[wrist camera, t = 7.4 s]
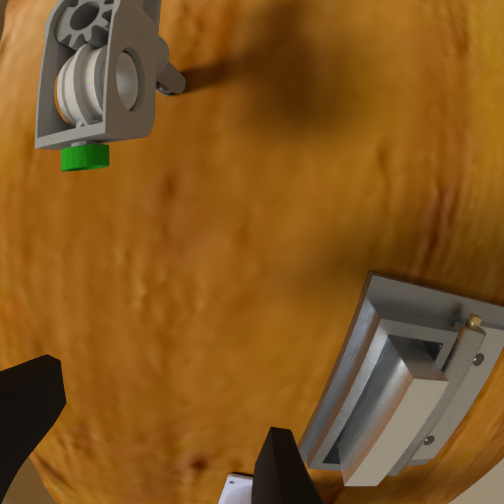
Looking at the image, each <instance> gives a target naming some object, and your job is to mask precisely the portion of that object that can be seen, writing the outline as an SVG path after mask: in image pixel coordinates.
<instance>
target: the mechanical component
mask: <svg viewBox="0 0 504 504" xmlns="http://www.w3.org/2000/svg"><path fill="white" fill-rule="evenodd" d="M160 8H161V0H59V1H58V2H57V4H56V5H55V6H54V8H53V9H52V11H51V13H50V15H49V17H48V19H47V22H46V25H45V29H44V39H45V44H44V50H43V56H42V63H41V70H40V78H39V87H38V97H37V110H36V129H35V149H52V150H61V171H80V170H89V169H97V168H104V167H108V166H109V145H105V144H104V143H110V142H116V141H122V140H129V139H136V138H144V137H146V136H148V135H149V134H150V132H151V130H152V127H153V124H154V118H155V91H156V90H157V91H159V92H160V93H162V94H163V95H165V96H169V93H171V92H174V93H175V94H179V93H182V92H183V91H184V89H185V87H186V80H185V78H184V77H183V75H182V74H181V73H180V72H179V71H178V70H177V69H176V68H175V67H174V66H173V65H172V64H171V63H170V62H169V61H168V59H169V48H168V45H167V43H166V42H165V41H164V40H163V39H162V38H161V37H159V36H158V31H159V19H160ZM60 70H61V71H60ZM59 71H60V74H59V78H58V83H57V95H58V102H59V106H60V109H61V111H62V114H63V116H64V117H65V119H66V120H67V122H68V123H67V122H66V121H64V120H63V119H62V117H61V116H60V115H59V112H58V110H57V108H56V105H55V100H54V85H55V80H56V77H57V75H58V73H59Z"/></svg>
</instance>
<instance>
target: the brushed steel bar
mask: <svg viewBox="0 0 504 504" xmlns="http://www.w3.org/2000/svg"><path fill="white" fill-rule="evenodd" d="M448 383H449V380H448V379H447V378H446V376H445V375H444V374H443V372H442V371H441V370H440V368H439V367H438V366H437V364H436V363H435V362H434V360H433V359H432V358H431V356H430V355H429V354H428V352H427V351H426V350H425V349H424V347H423V346H422V345H421V343H420V342H419V341H418V340H417V339H414V338H408V337H402V336H396V335H391V334H388V337H387V339H386V342H385V344H384V346H383V349H382V351H381V353H380V355H379V358H378V360H377V362H376V364H375V366H374V368H373V371H372V373H371V375H370V377H369V379H368V381H367V383H366V385H365V387H364V389H363V391H362V393H361V395H360V397H359V399H358V401H357V403H356V405H355V407H354V409H353V411H352V412H351V414H350V416H349V418H348V420H347V422H346V423H345V425H344V427H343V429H342V431H341V432H340V434H339V436H338V437H337V439H336V442H337V448H338V453H339V459H340V464H341V470H342V476H343V482H344V486H377V485H378V484H379V483H380V482H381V480H382V479H383V478H384V477H385V476H386V474H387V473H388V472H389V471H390V470H391V468H392V467H393V466H394V464H395V463H396V462H397V461H398V459H399V458H400V457H401V455H402V454H403V453H404V451H405V450H406V449H407V447H408V446H409V445H410V443H411V442H412V440H413V439H414V437H415V436H416V435H417V433H418V432H419V430H420V429H421V427H422V426H423V424H424V423H425V421H426V420H427V418H428V417H429V415H430V413H431V412H432V410H433V409H434V407H435V405H436V404H437V402H438V400H439V399H440V397H441V395H442V394H443V392H444V390H445V388H446V387H447V385H448Z"/></svg>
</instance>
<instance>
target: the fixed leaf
mask: <svg viewBox="0 0 504 504" xmlns="http://www.w3.org/2000/svg"><path fill="white" fill-rule="evenodd" d="M388 334H391V335H396V336H402V337H408V338H414V339H417V340H418V341H419V342H420V343H421V345H422V346H423V347H424V349H425V350H426V351H427V352H428V354H429V355H430V356H431V358H432V359H433V360H434V362H435V363H436V364H437V366H438V367H439V368H440V370H441V371H442V372H443V374H444V375H445V376H446V378H447V379H448V380H449V383H448V385H447V387H446V388H445V390H444V392H443V394H442V395H441V397H440V399H439V400H438V402H437V404H436V405H435V407H434V409H433V410H432V412H431V413H430V415H429V417H428V418H427V420H426V421H425V423H424V424H423V426H422V427H421V429H420V430H419V432H418V433H417V435H416V436H415V437H414V439H413V440H412V442H411V443H410V445H409V446H408V447H407V449H406V450H405V451H404V453H403V454H402V455H401V457H400V458H399V459H398V461H397V462H396V463H395V464H394V466H393V467H392V468H391V470H390V471H389V472H388V473H387V474H386V475H389V476H395V475H398V474H399V473H400V472H401V471H402V470H403V469H404V467H405V466H406V465H423V464H426V463H427V462H428V461H429V459H433V458H434V457H435V456H436V455H437V453H438V452H439V451H440V449H441V448H442V447H443V446H444V444H445V443H446V442H447V440H448V439H449V437H450V436H451V435H452V433H453V432H454V430H455V429H456V428H457V426H458V425H459V423H460V422H461V420H462V419H463V417H464V416H465V414H466V413H467V411H468V410H469V408H470V406H471V405H472V403H473V402H474V400H475V398H476V397H477V395H478V393H479V392H480V390H481V388H482V387H483V385H484V383H485V381H486V380H487V378H488V376H489V374H490V372H491V370H492V369H493V367H494V365H495V363H496V361H497V359H498V357H499V355H500V353H501V351H502V349H503V347H504V305H502V304H498V303H494V302H491V301H487V300H483V299H479V298H475V297H471V296H467V295H463V294H459V293H455V292H451V291H447V290H443V289H439V288H435V287H431V286H428V285H424V284H420V283H416V282H412V281H407V280H403V279H399V278H395V277H391V276H387V275H383V274H379V273H375V272H371V271H369V273H368V276H367V279H366V282H365V285H364V288H363V291H362V294H361V297H360V300H359V303H358V305H357V308H356V311H355V314H354V317H353V319H352V322H351V325H350V327H349V330H348V333H347V335H346V338H345V341H344V343H343V346H342V348H341V351H340V353H339V356H338V358H337V361H336V363H335V366H334V368H333V370H332V373H331V375H330V377H329V380H328V382H327V384H326V387H325V389H324V391H323V393H322V396H321V398H320V400H319V402H318V404H317V407H316V409H315V411H314V413H313V415H312V417H311V419H310V421H309V423H308V426H307V428H306V430H305V432H304V434H303V436H302V438H301V440H300V442H299V444H298V446H297V448H298V450H299V453H300V455H301V458H302V460H303V462H305V463H307V467H308V468H310V469H322V470H338V471H342V470H341V464H340V459H339V453H338V448H337V442H336V439H337V437H338V436H339V434H340V432H341V431H342V429H343V427H344V425H345V423H346V422H347V420H348V418H349V416H350V414H351V412H352V411H353V409H354V407H355V405H356V403H357V401H358V399H359V397H360V395H361V393H362V391H363V389H364V387H365V385H366V383H367V381H368V379H369V377H370V375H371V373H372V371H373V368H374V366H375V364H376V362H377V360H378V358H379V355H380V353H381V351H382V349H383V346H384V344H385V342H386V339H387V337H388Z"/></svg>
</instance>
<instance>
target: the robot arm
mask: <svg viewBox="0 0 504 504" xmlns="http://www.w3.org/2000/svg"><path fill="white" fill-rule="evenodd" d="M65 404H66V397H65V391H64V384H63V377H62V369H61V361H60V360H58V359H56V358H54V357H52V356H50V355H48V354H47V355H44V356H41V357H38V358H35V359H32V360H30V361H27V362H24V363H22V364H19V365H17V366H14V367H11V368H8V369H6V370H3V371H0V504H1V503H2V501H3V499H4V496H5V494H6V492H7V490H8V488H9V486H10V484H11V482H12V481H13V479H14V477H15V475H16V474H17V472H18V470H19V468H20V467H21V466H22V464H23V463H24V461H25V460H26V459H27V457H28V456H29V455H30V454H31V452H32V451H33V450H34V449H35V447H36V446H37V445H38V444H39V442H40V441H41V440H42V439H43V437H44V436H45V435H46V434H47V432H48V431H49V430H50V429H51V427H52V426H53V425H54V423H55V422H56V420H57V418H58V417H59V415H60V413H61V412H62V410H63V408H64V406H65ZM218 504H324V502H323V500H322V499H321V497H320V495H319V493H318V492H317V490H316V488H315V485H314V484H313V482H312V480H311V478H310V476H309V474H308V472H307V469H306V467H305V465H304V463H303V460H302V458H301V455H300V453H299V450H298V448H297V445H296V442H295V439H294V437H293V434H292V432H291V430H289V429H282V428H276V427H270V430H269V432H268V435H267V437H266V440H265V442H264V444H263V447H262V449H261V452H260V454H259V456H258V459H257V461H256V463H255V470H254V476H253V477H248V476H242V475H237V474H230V475H228V477H227V480H226V483H225V486H224V488H223V491H222V494H221V497H220V499H219V502H218Z"/></svg>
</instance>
